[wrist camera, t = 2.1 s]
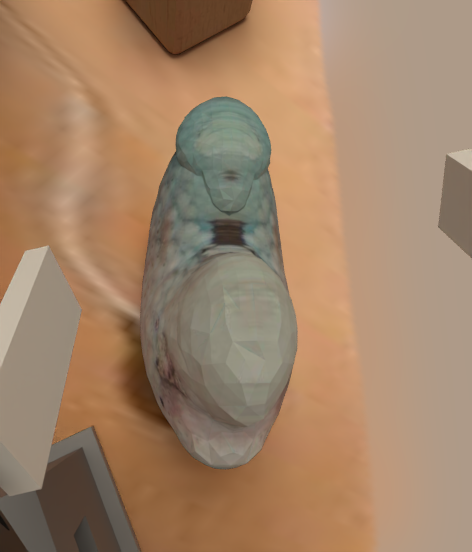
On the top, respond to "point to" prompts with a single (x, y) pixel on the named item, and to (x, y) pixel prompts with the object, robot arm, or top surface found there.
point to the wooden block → (188, 19)
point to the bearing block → (72, 503)
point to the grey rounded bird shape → (218, 289)
